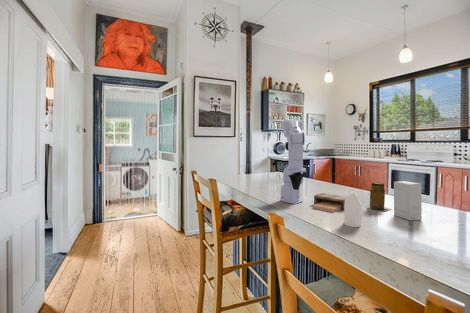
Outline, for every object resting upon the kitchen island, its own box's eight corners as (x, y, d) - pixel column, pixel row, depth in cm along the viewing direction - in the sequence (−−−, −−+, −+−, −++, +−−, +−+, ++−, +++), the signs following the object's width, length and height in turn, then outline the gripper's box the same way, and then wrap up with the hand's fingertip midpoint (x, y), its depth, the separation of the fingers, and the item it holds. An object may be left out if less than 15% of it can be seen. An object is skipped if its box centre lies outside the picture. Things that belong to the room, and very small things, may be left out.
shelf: (314, 204, 123) (314, 195, 123) (321, 201, 129) (321, 192, 128) (344, 210, 113) (344, 200, 112) (350, 206, 118) (351, 197, 118)
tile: (312, 209, 116) (312, 205, 116) (325, 203, 126) (326, 200, 126) (333, 213, 109) (333, 209, 109) (345, 207, 119) (346, 203, 119)
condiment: (372, 205, 121) (373, 181, 120) (391, 209, 114) (392, 183, 114) (365, 208, 116) (366, 183, 115) (385, 212, 110) (386, 185, 109)
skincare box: (421, 220, 98) (423, 183, 97) (408, 221, 97) (410, 184, 96) (404, 214, 106) (406, 180, 105) (392, 214, 106) (393, 180, 105)
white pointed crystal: (343, 194, 92) (346, 191, 96) (342, 225, 92) (345, 221, 97) (361, 195, 88) (363, 193, 93) (360, 228, 89) (362, 224, 94)
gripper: (295, 160, 102) (295, 193, 103) (312, 159, 112) (311, 188, 113) (281, 160, 107) (281, 190, 108) (298, 158, 117) (298, 186, 118)
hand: (295, 189), depth 111 cm, fingers closed
